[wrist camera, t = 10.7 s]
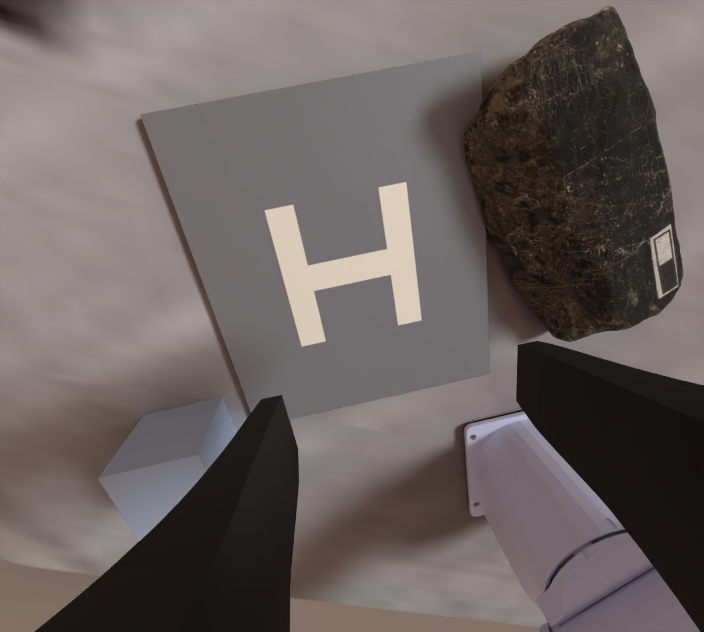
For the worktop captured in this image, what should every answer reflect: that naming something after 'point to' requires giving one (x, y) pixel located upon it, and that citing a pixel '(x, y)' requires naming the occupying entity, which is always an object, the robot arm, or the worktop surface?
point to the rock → (578, 181)
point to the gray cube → (165, 460)
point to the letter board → (337, 231)
